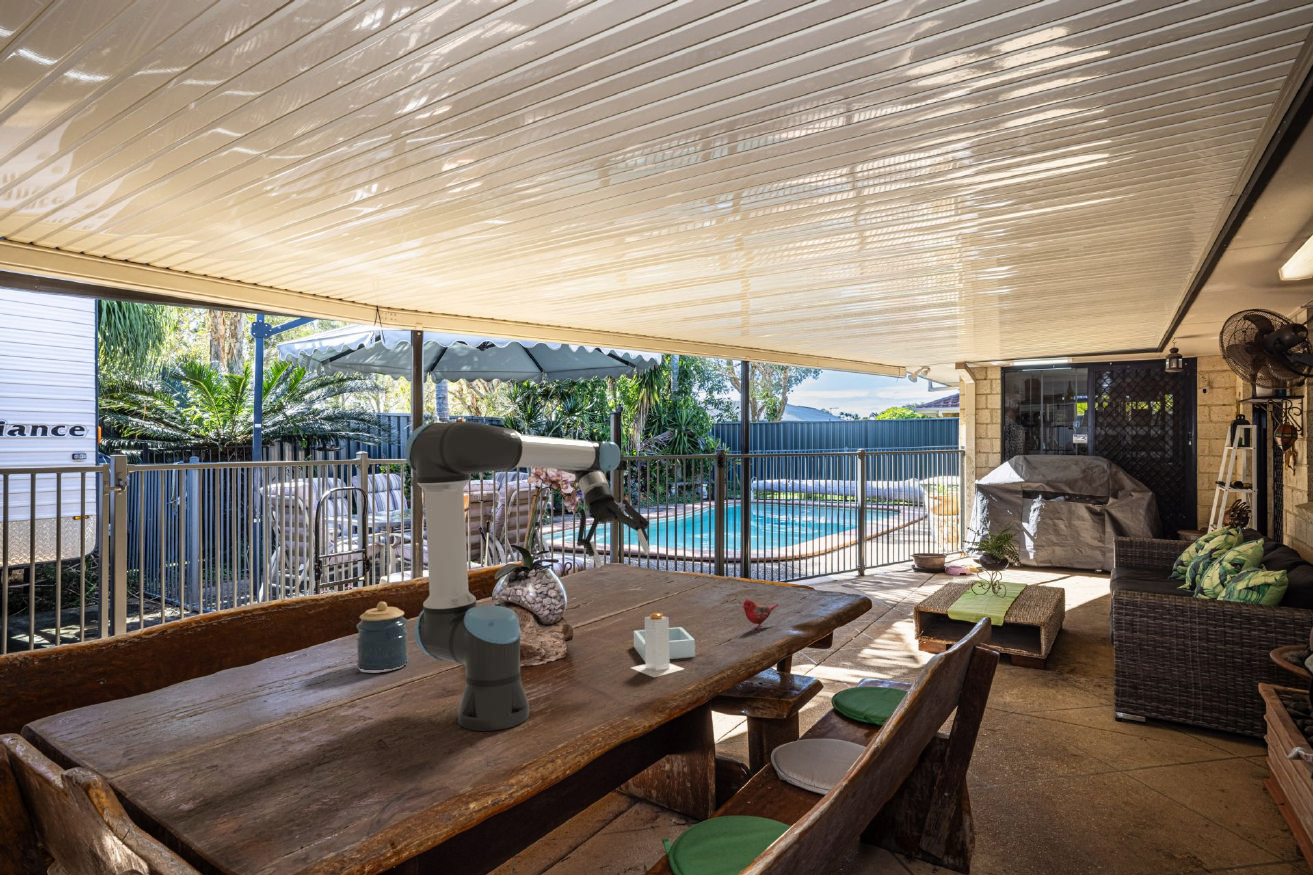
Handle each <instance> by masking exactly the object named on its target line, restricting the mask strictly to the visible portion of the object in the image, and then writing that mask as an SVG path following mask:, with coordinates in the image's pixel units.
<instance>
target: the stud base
mask: <svg viewBox="0 0 1313 875" xmlns="http://www.w3.org/2000/svg"><path fill="white" fill-rule="evenodd" d="M630 669H632V670H634V671H636V672H640V673H642V674H644V675H647V676H648V677H649V676H650V677H652V678H658V677H661V676H664V675H669V674H672V673H675V672H680V671H683V670H685V668H684V667H682V666H678V665H676V664H673V663H670V669H666V670H662V671H659V672H654V671H652V670H649V669H647V668H646V666H645V664H644V663H643V664H639V665H636V666H632V667H630Z"/></svg>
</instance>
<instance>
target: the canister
mask: <svg viewBox="0 0 1313 875" xmlns="http://www.w3.org/2000/svg"><path fill="white" fill-rule="evenodd" d="M404 615H405V611H404V610H401V609H400V608H399V607H395V606H388V604H387V602H385V601H379V602H378V603H377V605H376V607H375V608H370V609H367V610H366V611H364V613H362V614H361V615H359V619H360V621H359V622H358V623H357V624H356V626H355V627H356V629H357V630H358V635H357V637H356V641H357V644H356V645H357V646H356V648H357V660H356V662H357V664H356V666H357V668H358V667H359V668H360V669H364V670H384V669H393V668H396V667H400V666H402V665H404V664H406V662H407V663H408V660H409V653H408V635H409V634H408V631H407V629H406V628H407V626H406V625H407V624H408V622H409V621H408V619H407V618H405V617H404Z"/></svg>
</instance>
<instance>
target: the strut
mask: <svg viewBox="0 0 1313 875" xmlns="http://www.w3.org/2000/svg"><path fill="white" fill-rule="evenodd" d="M669 628H670V618H669V617H668V616H664V614H663V613H662V612H653V613H650V614H649V616H645V617H644V630H645V661H644V662H645V666H646V668H647V669H649V670H652V671H654V672H659V671H662V670H666V669H670V664H671V663H670V662H671V661H670V660H671V659H669Z"/></svg>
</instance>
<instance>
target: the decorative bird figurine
mask: <svg viewBox="0 0 1313 875" xmlns="http://www.w3.org/2000/svg"><path fill="white" fill-rule="evenodd" d="M778 606H779V603H776V604H774V605H772V606H769V607H768V606H765V605H761V604H756V603H755V602H754V600H751V599H745V600H744V602H743V606H742V609H743V610H744V612H745V616H746V619H747V620H748V621H749V622H750V623H752V624H754V625H757V626H755V627H754V628H752V630H758V629H760V628H761V627H762V628H763V625H762V623H764V622H765V621H766V620H767V619H768V618H769V617H770V614H771V613H772V611H773V610H774V609H775V608H777V607H778Z"/></svg>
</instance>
